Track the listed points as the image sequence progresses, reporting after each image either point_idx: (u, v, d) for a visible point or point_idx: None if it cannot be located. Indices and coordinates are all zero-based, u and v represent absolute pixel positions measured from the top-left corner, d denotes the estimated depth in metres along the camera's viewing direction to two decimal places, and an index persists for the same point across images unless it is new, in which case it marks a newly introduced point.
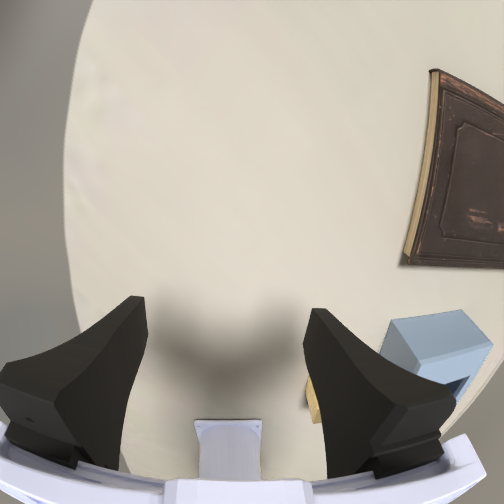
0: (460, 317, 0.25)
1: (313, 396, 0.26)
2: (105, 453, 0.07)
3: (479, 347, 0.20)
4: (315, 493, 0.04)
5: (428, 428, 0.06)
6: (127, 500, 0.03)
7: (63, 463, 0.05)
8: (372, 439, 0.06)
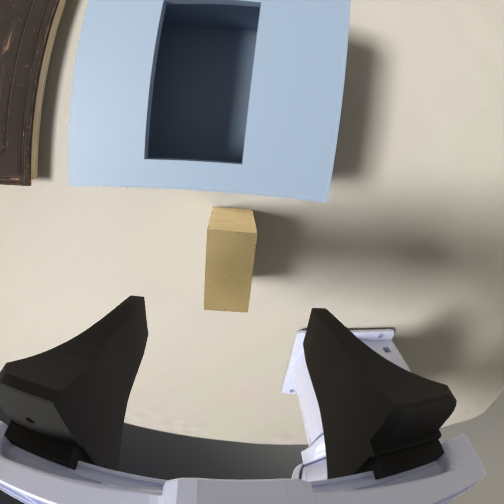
0: None
1: None
2: (105, 453, 0.07)
3: (83, 29, 0.09)
4: (315, 493, 0.04)
5: (428, 428, 0.06)
6: (127, 500, 0.03)
7: (63, 463, 0.05)
8: (372, 439, 0.06)
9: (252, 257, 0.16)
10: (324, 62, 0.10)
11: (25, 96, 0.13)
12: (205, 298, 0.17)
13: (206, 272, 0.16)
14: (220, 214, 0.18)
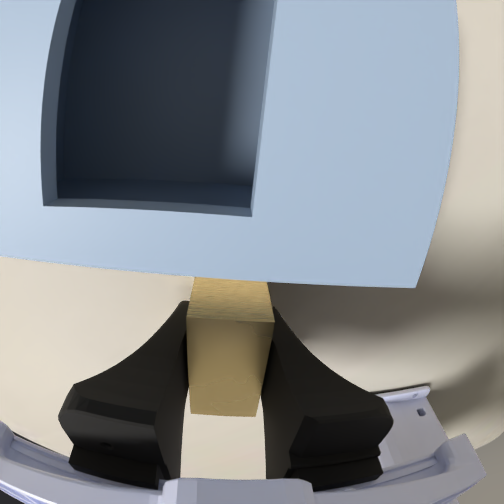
0: None
1: None
2: (175, 466, 0.07)
3: None
4: (315, 493, 0.04)
5: (361, 444, 0.06)
6: (127, 500, 0.03)
7: (144, 485, 0.05)
8: (291, 450, 0.06)
9: (265, 355, 0.09)
10: (424, 6, 0.03)
11: None
12: (191, 402, 0.10)
13: (190, 374, 0.09)
14: None
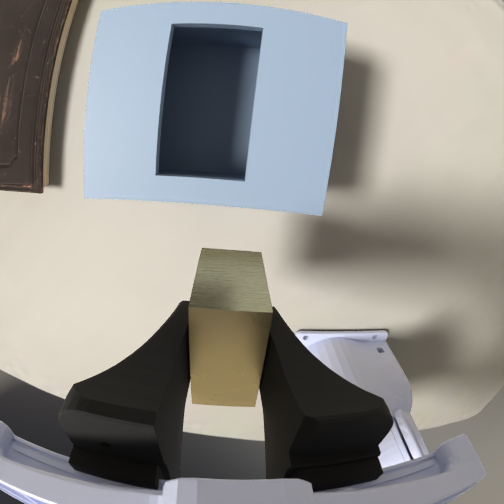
0: None
1: None
2: (175, 466, 0.07)
3: None
4: (315, 493, 0.04)
5: (361, 444, 0.06)
6: (127, 500, 0.03)
7: (144, 485, 0.05)
8: (291, 450, 0.06)
9: (263, 345, 0.10)
10: (321, 86, 0.12)
11: (36, 107, 0.15)
12: (193, 392, 0.11)
13: (191, 363, 0.10)
14: (212, 266, 0.11)
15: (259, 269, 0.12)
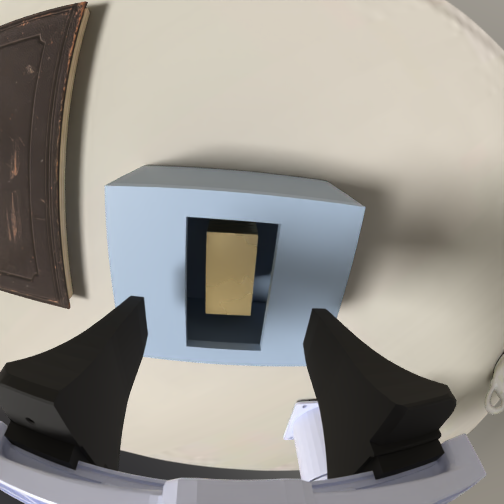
0: None
1: None
2: (105, 453, 0.07)
3: None
4: (315, 493, 0.04)
5: (428, 428, 0.06)
6: (127, 500, 0.03)
7: (63, 463, 0.05)
8: (372, 439, 0.06)
9: (253, 259, 0.16)
10: (331, 277, 0.14)
11: (49, 232, 0.17)
12: (206, 302, 0.17)
13: (207, 275, 0.16)
14: None
15: None
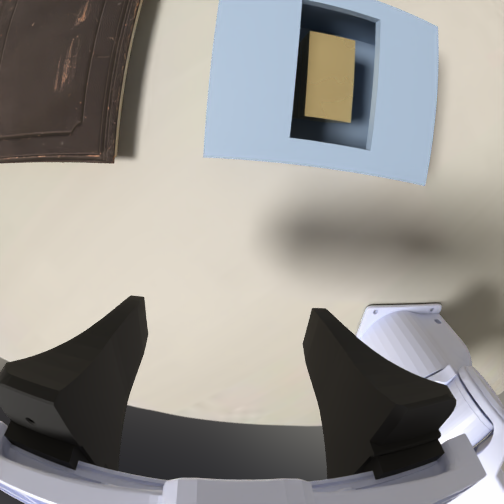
0: None
1: (300, 117, 0.16)
2: (105, 453, 0.07)
3: (218, 7, 0.10)
4: (315, 493, 0.04)
5: (428, 428, 0.06)
6: (127, 500, 0.03)
7: (63, 463, 0.05)
8: (372, 439, 0.06)
9: (352, 61, 0.13)
10: (424, 76, 0.12)
11: (111, 69, 0.15)
12: (306, 101, 0.14)
13: (308, 71, 0.13)
14: None
15: None
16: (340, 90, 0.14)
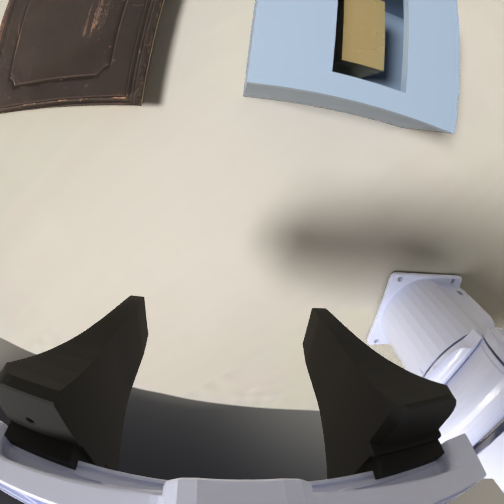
0: None
1: (334, 65, 0.14)
2: (105, 453, 0.07)
3: None
4: (315, 493, 0.04)
5: (428, 428, 0.06)
6: (127, 500, 0.03)
7: (63, 463, 0.05)
8: (372, 439, 0.06)
9: (383, 18, 0.12)
10: (448, 36, 0.10)
11: (145, 16, 0.13)
12: (343, 47, 0.12)
13: (344, 22, 0.12)
14: None
15: None
16: (373, 41, 0.12)
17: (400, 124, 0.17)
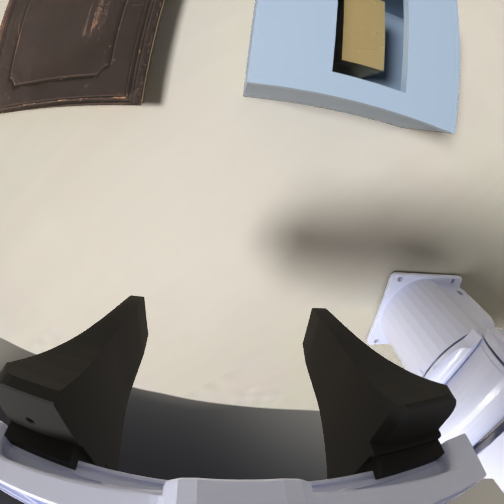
0: None
1: (334, 65, 0.14)
2: (105, 453, 0.07)
3: None
4: (315, 493, 0.04)
5: (428, 428, 0.06)
6: (127, 500, 0.03)
7: (63, 463, 0.05)
8: (372, 439, 0.06)
9: (383, 18, 0.12)
10: (448, 36, 0.10)
11: (145, 15, 0.13)
12: (343, 47, 0.12)
13: (344, 22, 0.12)
14: None
15: None
16: (373, 41, 0.12)
17: (400, 124, 0.17)
